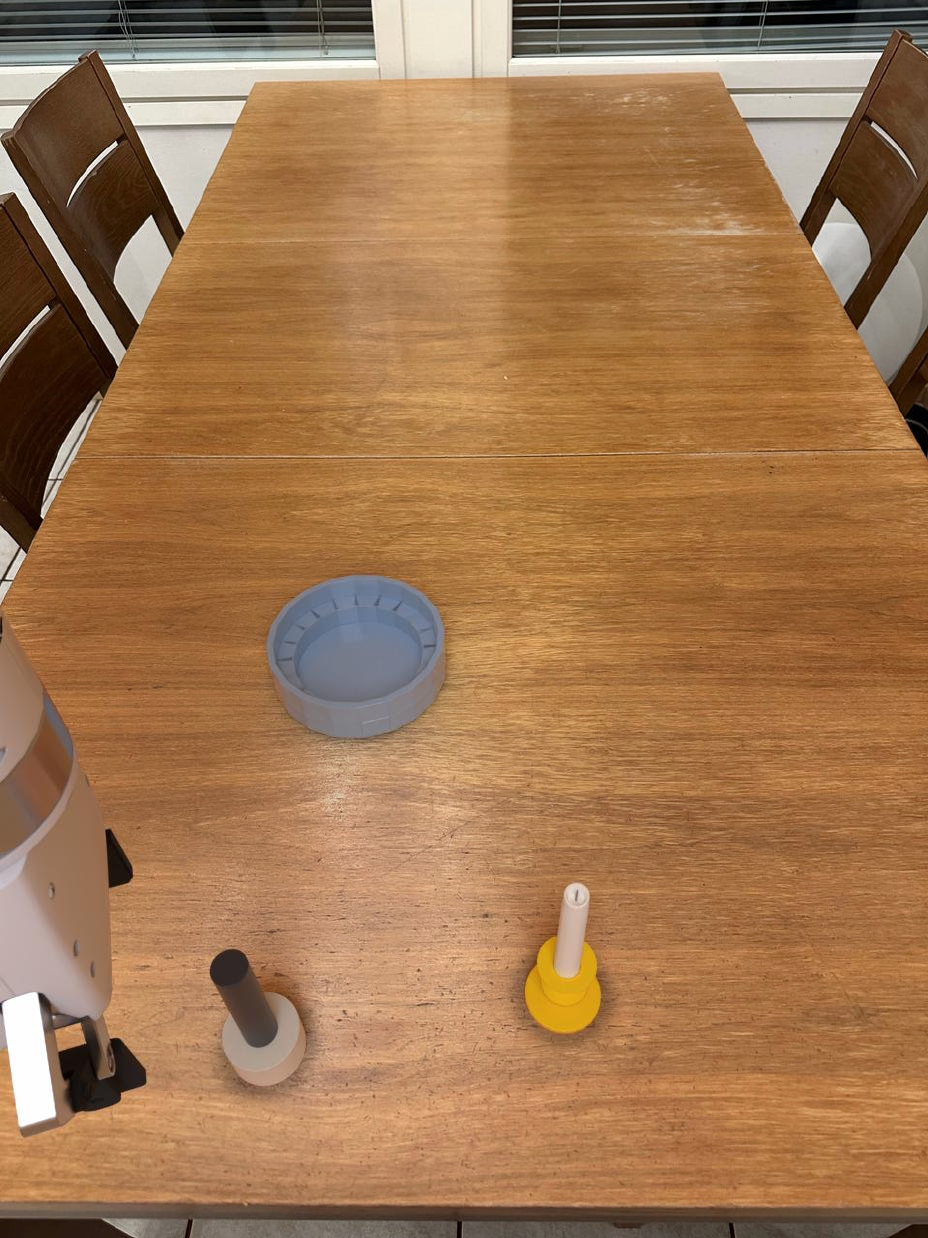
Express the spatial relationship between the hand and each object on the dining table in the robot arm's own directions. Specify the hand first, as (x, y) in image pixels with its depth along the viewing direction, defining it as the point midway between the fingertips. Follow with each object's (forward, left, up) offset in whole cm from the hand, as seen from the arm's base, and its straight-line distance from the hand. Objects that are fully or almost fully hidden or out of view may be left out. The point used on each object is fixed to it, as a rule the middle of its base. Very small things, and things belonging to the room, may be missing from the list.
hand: (105, 979), depth 43 cm
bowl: (+16, +34, -23) cm, 44 cm away
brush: (+4, +4, -23) cm, 24 cm away
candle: (+24, +2, -24) cm, 34 cm away
